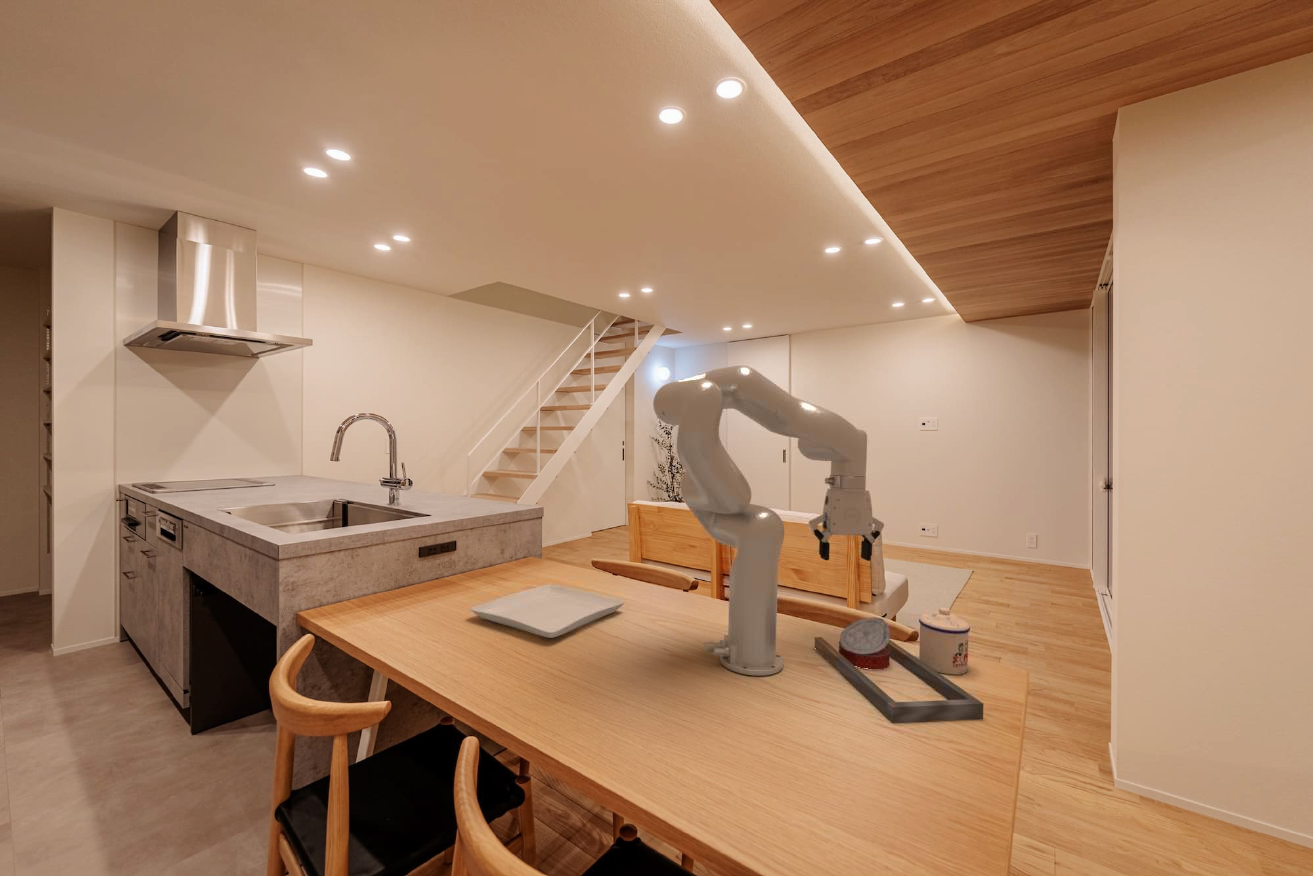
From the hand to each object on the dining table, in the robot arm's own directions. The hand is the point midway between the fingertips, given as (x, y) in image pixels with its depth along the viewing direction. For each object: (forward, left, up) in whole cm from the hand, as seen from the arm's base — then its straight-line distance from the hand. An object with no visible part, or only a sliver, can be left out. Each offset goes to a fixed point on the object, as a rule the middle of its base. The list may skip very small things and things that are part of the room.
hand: (845, 559), depth 119 cm
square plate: (-67, +19, -19) cm, 72 cm away
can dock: (-1, -19, -18) cm, 26 cm away
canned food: (-1, -10, -19) cm, 21 cm away
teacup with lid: (+15, -13, -19) cm, 27 cm away
